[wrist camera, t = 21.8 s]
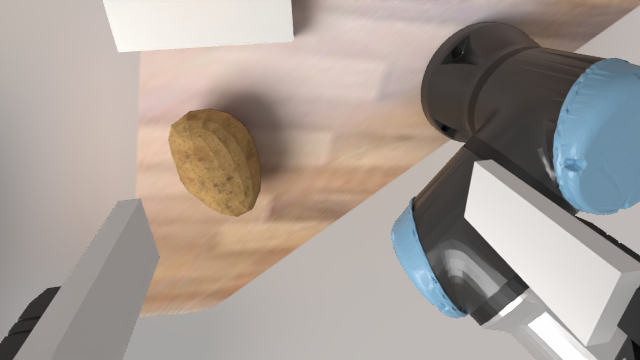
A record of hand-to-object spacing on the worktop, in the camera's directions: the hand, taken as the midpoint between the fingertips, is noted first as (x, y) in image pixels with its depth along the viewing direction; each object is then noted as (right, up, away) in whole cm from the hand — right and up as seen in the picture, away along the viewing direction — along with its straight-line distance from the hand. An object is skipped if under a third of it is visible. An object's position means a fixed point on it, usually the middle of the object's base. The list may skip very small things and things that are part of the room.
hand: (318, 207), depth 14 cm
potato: (-13, +5, +32) cm, 34 cm away
